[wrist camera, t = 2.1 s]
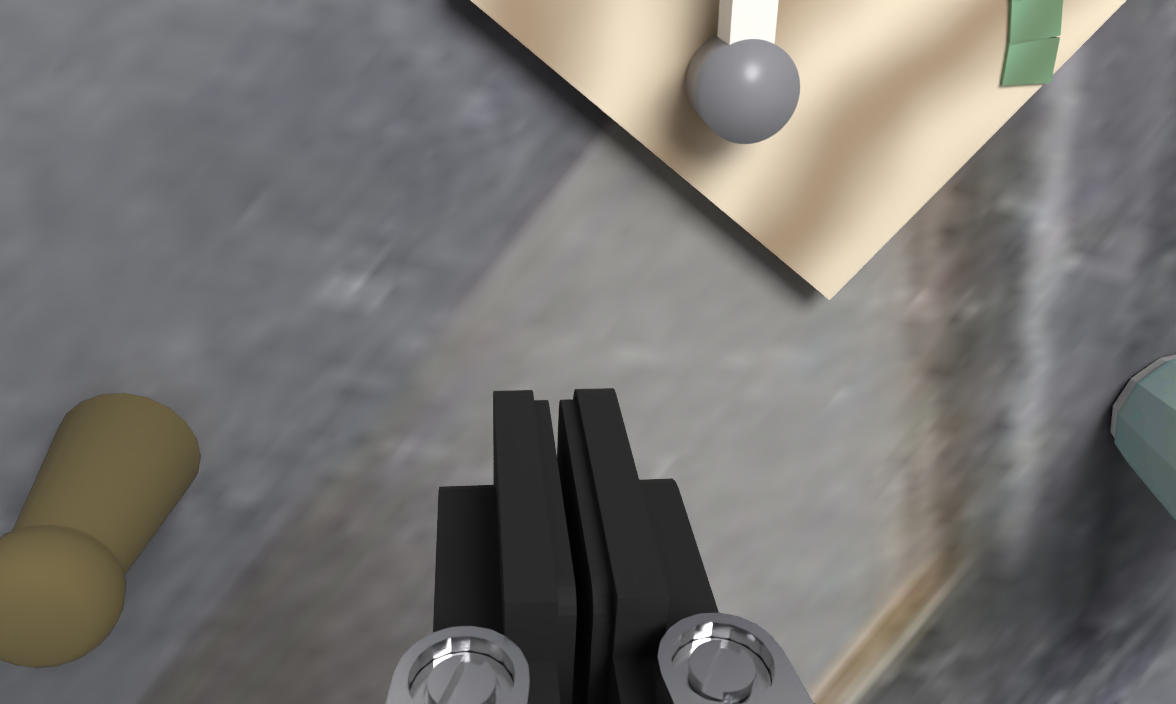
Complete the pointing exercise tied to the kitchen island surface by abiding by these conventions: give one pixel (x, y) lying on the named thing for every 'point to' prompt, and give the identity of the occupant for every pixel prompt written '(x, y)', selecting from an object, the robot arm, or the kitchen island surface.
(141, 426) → the cork
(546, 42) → the dial board
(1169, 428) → the disposable coffee cup
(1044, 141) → the kitchen island surface
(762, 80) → the tuner needle
